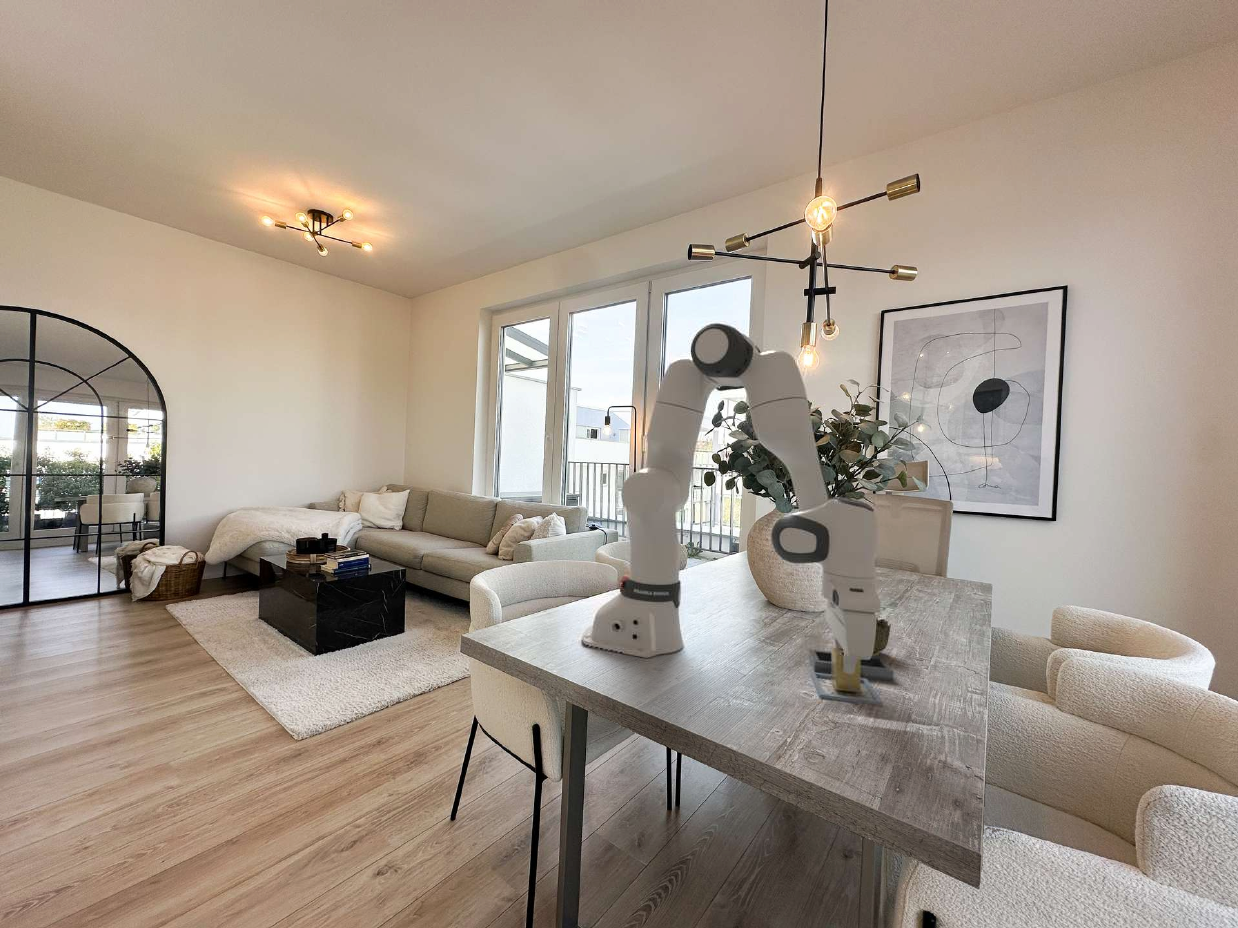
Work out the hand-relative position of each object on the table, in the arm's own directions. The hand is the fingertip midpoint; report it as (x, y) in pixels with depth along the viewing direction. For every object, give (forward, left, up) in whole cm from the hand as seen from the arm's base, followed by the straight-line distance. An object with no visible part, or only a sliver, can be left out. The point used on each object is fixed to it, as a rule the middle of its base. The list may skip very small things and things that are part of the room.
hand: (844, 666), depth 91 cm
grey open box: (+3, +10, -5) cm, 12 cm away
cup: (+10, +22, -5) cm, 25 cm away
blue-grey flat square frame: (0, 0, -5) cm, 5 cm away
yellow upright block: (0, 0, -4) cm, 4 cm away
